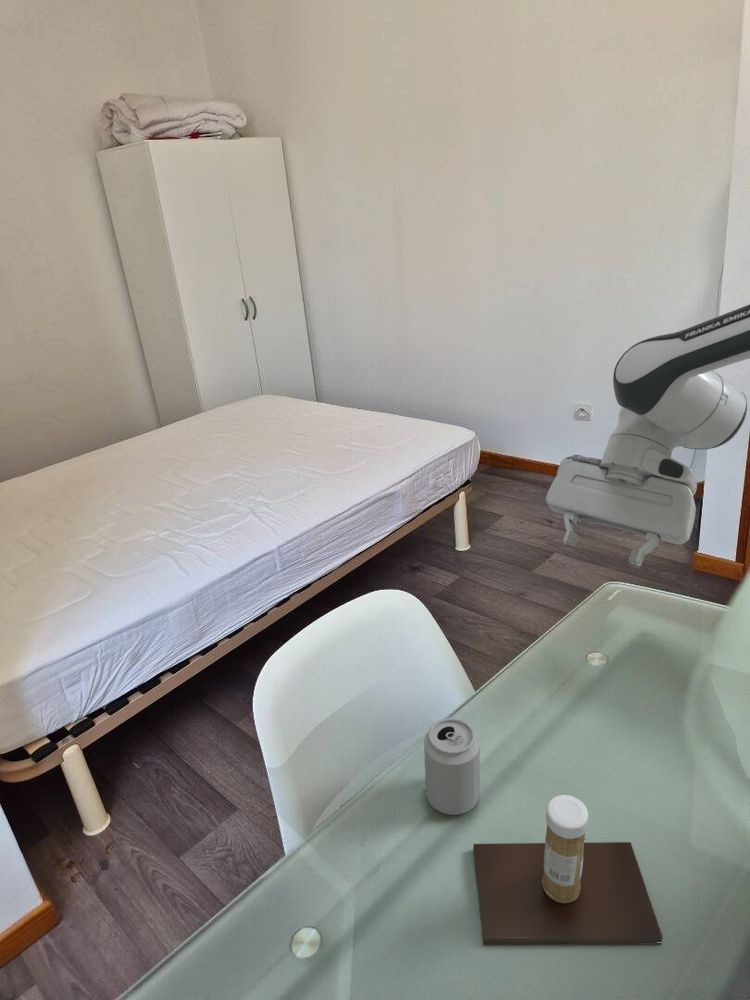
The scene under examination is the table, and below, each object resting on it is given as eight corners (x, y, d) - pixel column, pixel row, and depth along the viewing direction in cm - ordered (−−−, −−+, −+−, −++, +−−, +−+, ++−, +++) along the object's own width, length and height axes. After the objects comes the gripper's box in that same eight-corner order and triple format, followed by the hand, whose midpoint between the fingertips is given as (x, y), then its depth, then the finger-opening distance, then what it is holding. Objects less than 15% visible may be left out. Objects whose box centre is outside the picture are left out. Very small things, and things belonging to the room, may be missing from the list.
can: (449, 766, 102) (448, 704, 96) (490, 794, 97) (491, 731, 91) (414, 797, 97) (411, 735, 92) (456, 829, 92) (455, 764, 87)
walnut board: (629, 848, 88) (630, 841, 88) (661, 944, 77) (662, 937, 77) (473, 849, 89) (473, 843, 89) (483, 944, 79) (483, 938, 78)
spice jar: (587, 886, 83) (596, 809, 77) (566, 913, 80) (575, 835, 74) (554, 862, 86) (560, 786, 80) (533, 887, 83) (538, 810, 77)
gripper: (559, 443, 102) (526, 527, 100) (705, 472, 91) (671, 568, 88) (569, 460, 107) (538, 541, 105) (708, 490, 96) (677, 581, 93)
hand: (600, 554), depth 97 cm, fingers open, 8 cm apart
